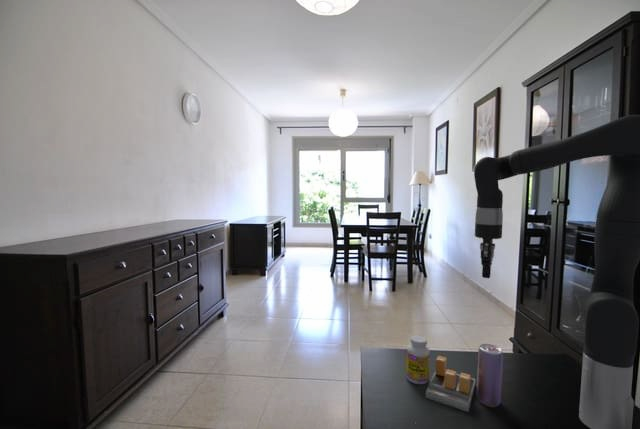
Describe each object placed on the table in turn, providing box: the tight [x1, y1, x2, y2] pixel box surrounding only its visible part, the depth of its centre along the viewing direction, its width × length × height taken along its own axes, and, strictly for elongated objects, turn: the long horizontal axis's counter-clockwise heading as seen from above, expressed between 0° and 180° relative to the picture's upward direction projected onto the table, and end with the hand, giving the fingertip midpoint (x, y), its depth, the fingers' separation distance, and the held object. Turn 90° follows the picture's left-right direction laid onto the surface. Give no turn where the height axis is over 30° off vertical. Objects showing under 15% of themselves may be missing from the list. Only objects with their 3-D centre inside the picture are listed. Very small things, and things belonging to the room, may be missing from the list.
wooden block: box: [435, 355, 447, 376], centre depth 99 cm, size 2×3×5 cm
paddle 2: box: [444, 368, 457, 390], centre depth 91 cm, size 2×3×5 cm
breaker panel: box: [425, 370, 476, 413], centre depth 94 cm, size 11×14×3 cm
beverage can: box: [476, 343, 504, 408], centre depth 89 cm, size 6×6×15 cm
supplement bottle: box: [405, 335, 431, 385], centre depth 100 cm, size 7×7×13 cm
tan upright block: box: [459, 371, 472, 394], centre depth 90 cm, size 2×3×5 cm
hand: (486, 277), depth 102 cm, fingers closed
